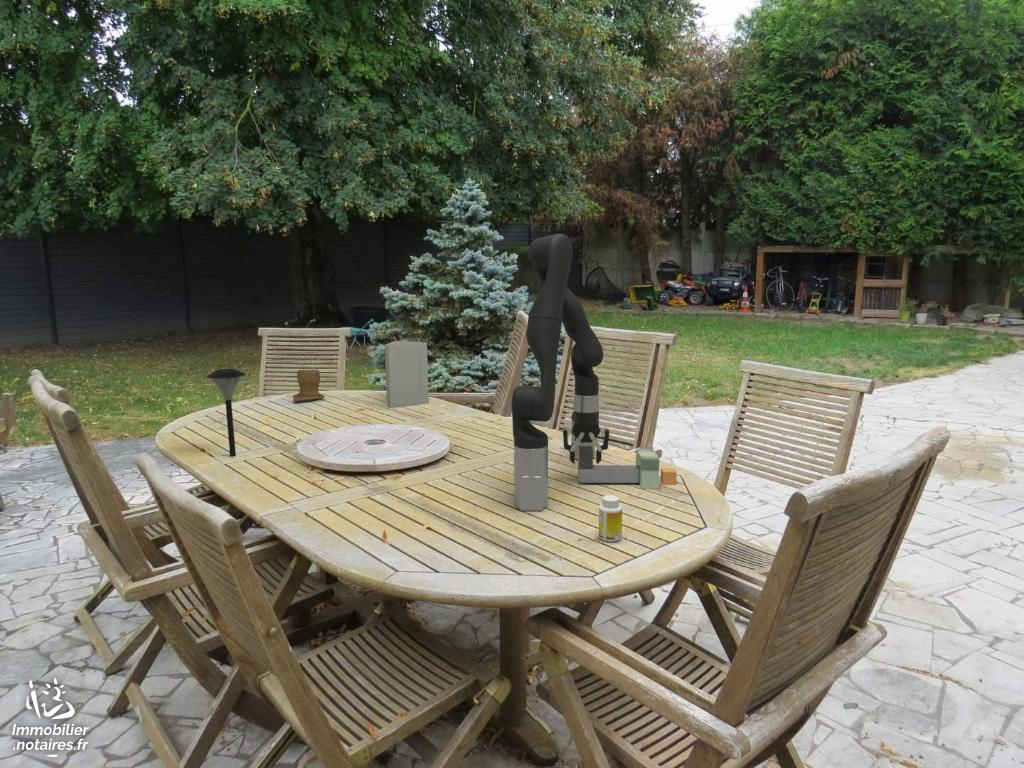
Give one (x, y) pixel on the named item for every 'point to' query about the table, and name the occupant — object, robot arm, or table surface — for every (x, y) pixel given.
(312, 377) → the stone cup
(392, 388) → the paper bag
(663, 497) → the table surface
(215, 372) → the solar garden light
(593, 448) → the travel mug
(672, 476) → the block
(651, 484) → the bearing bridge
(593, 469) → the grey l-shaped bracket
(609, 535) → the supplement bottle
